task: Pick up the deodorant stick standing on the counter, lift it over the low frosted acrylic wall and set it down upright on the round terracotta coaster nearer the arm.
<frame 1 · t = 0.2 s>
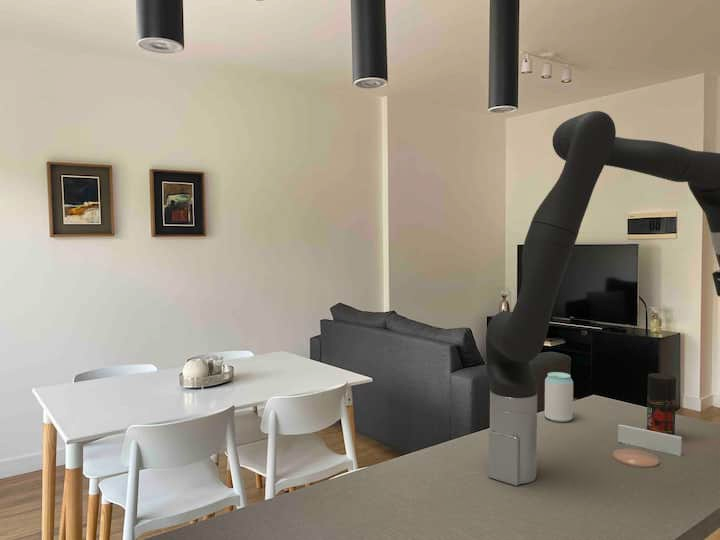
can: (558, 419, 146), on the counter
coaster: (635, 459, 120), on the counter
deodorant: (660, 438, 132), on the counter
acrylic wall: (648, 448, 126), on the counter
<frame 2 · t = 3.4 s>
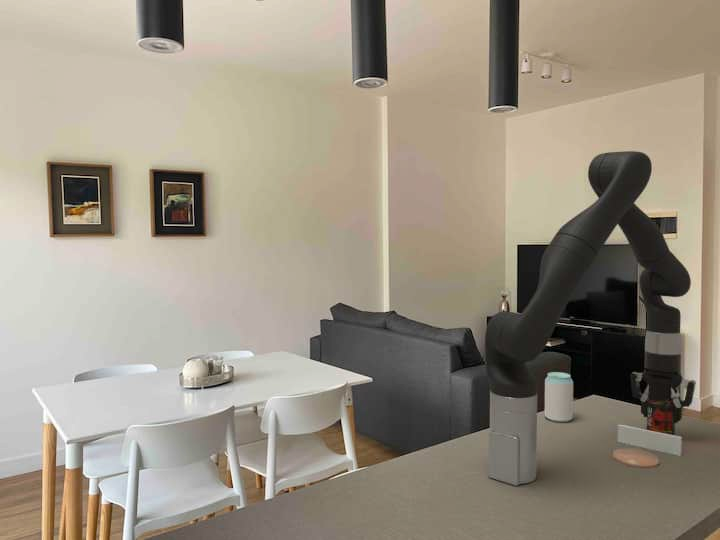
hand: (661, 418, 132), 5 cm above the counter, tool pointing down, fingers closed on deodorant, 6 cm apart
deodorant: (660, 438, 132), on the counter, touching gripper
everything else where it was.
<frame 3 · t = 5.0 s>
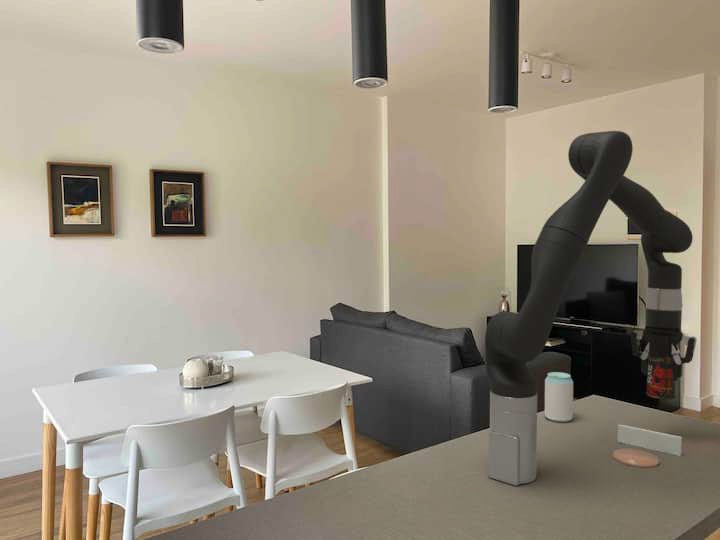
hand: (661, 376, 131), 15 cm above the counter, tool pointing down, fingers closed on deodorant, 6 cm apart
deodorant: (660, 396, 131), point 10 cm above the counter, touching gripper
everything else where it was.
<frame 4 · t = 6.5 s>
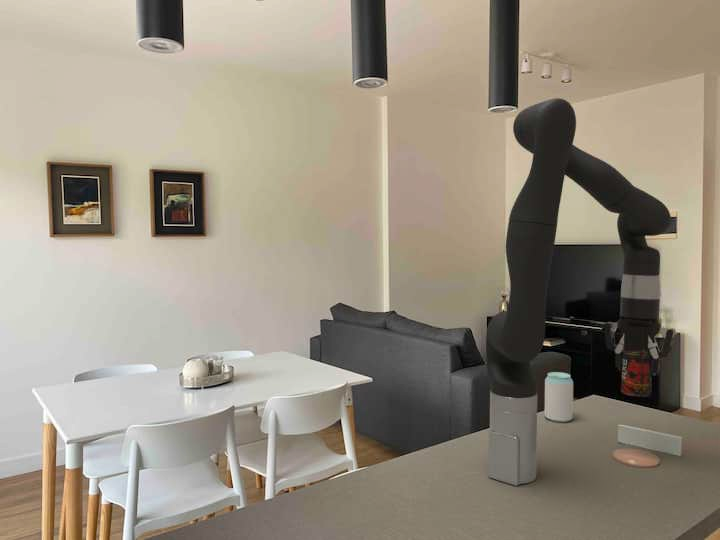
hand: (636, 372, 119), 19 cm above the counter, tool pointing down, fingers closed on deodorant, 6 cm apart
deodorant: (635, 393, 120), point 14 cm above the counter, touching gripper
everything else where it was.
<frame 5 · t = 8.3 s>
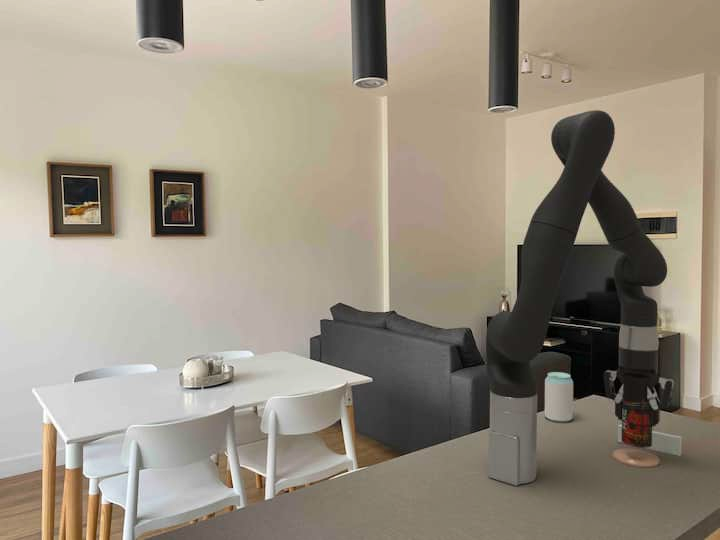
hand: (636, 421, 119), 8 cm above the counter, tool pointing down, fingers closed on deodorant, 6 cm apart
deodorant: (636, 443, 119), point 3 cm above the counter, touching gripper
everything else where it was.
when the fingers open (6 cm above the counter, at t = 9.6 s): deodorant stays where it is, resting on coaster.
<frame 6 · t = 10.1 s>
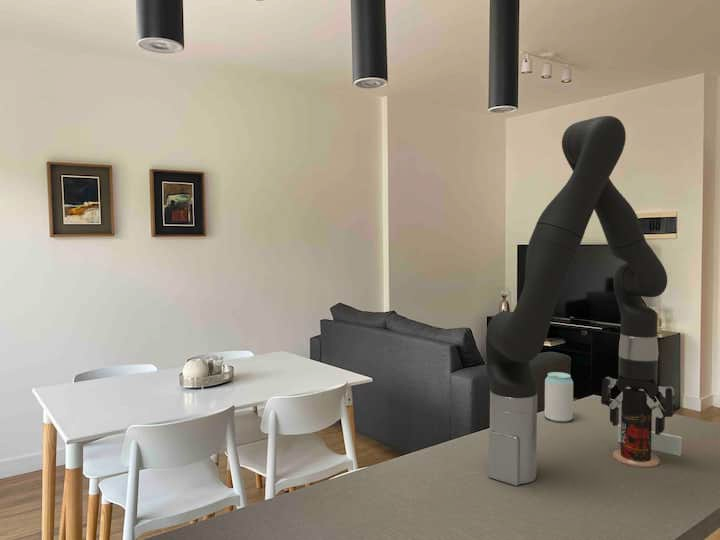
hand: (636, 429, 119), 7 cm above the counter, tool pointing down, fingers open, 8 cm apart
deodorant: (635, 457, 119), resting on coaster
everything else where it was.
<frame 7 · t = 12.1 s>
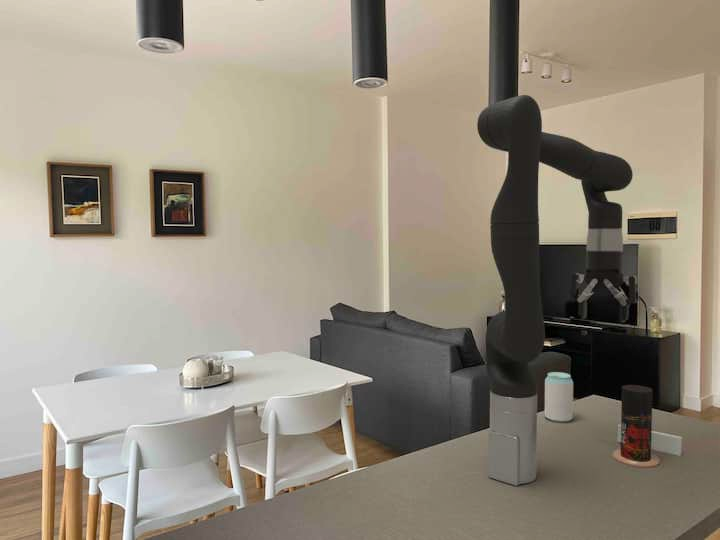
hand: (602, 320, 125), 29 cm above the counter, tool pointing down, fingers open, 8 cm apart
nothing on the counter moved.
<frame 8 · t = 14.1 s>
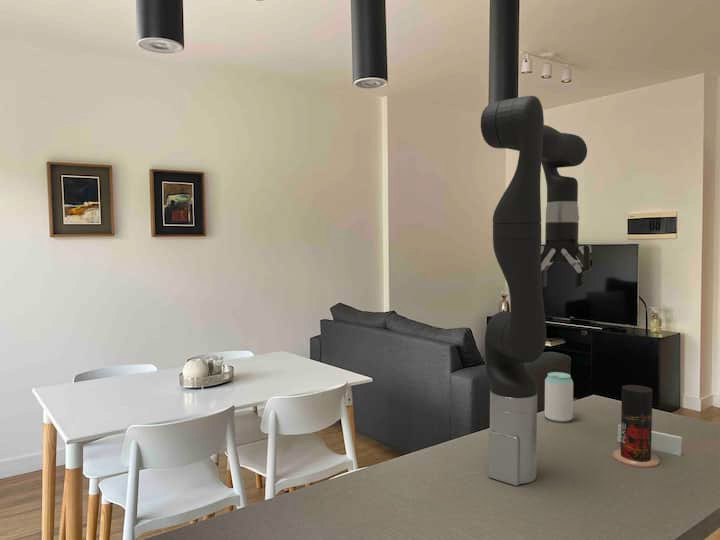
hand: (560, 287, 134), 36 cm above the counter, tool pointing down, fingers open, 8 cm apart
nothing on the counter moved.
at the end: deodorant 0.1 cm from the coaster (horizontally); deodorant tilted 0°; the gripper is holding nothing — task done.
